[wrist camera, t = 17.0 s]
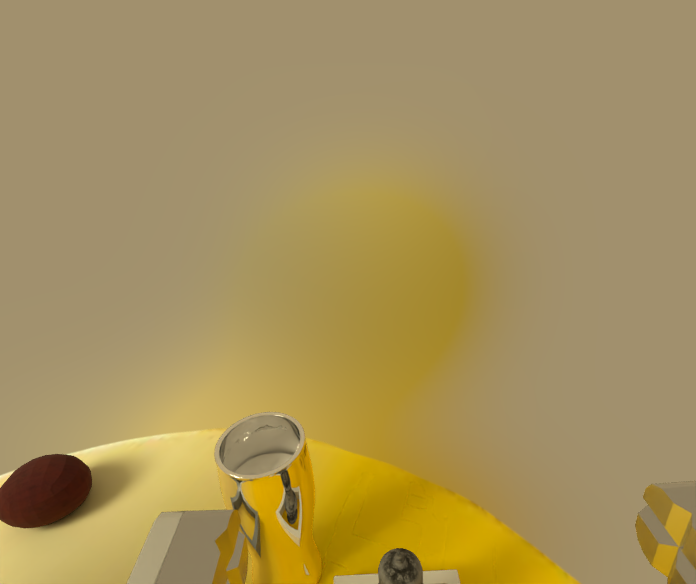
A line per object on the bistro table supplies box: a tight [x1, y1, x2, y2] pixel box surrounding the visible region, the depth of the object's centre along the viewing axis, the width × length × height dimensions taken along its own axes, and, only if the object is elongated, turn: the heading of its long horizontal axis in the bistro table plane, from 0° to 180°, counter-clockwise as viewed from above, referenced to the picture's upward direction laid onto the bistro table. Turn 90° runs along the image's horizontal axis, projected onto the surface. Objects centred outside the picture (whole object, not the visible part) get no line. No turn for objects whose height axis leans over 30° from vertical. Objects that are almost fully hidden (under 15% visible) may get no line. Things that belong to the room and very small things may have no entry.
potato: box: [0, 454, 92, 528], centre depth 45 cm, size 7×8×6 cm
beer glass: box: [215, 412, 322, 584], centre depth 35 cm, size 7×7×15 cm
